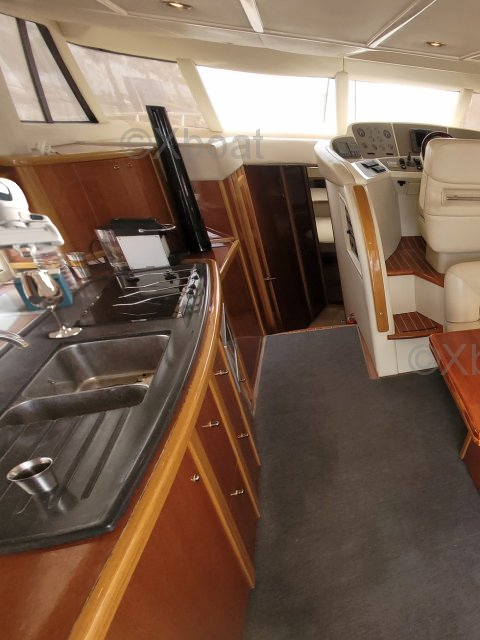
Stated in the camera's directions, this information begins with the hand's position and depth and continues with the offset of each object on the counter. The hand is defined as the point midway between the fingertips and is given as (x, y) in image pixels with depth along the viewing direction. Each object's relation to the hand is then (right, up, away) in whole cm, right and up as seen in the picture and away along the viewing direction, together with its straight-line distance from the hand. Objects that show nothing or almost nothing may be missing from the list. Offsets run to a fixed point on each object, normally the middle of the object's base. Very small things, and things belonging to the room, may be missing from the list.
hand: (28, 257), depth 134 cm
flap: (-2, -5, +5) cm, 7 cm away
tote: (0, -15, +8) cm, 17 cm away
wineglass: (+25, -27, -11) cm, 39 cm away
